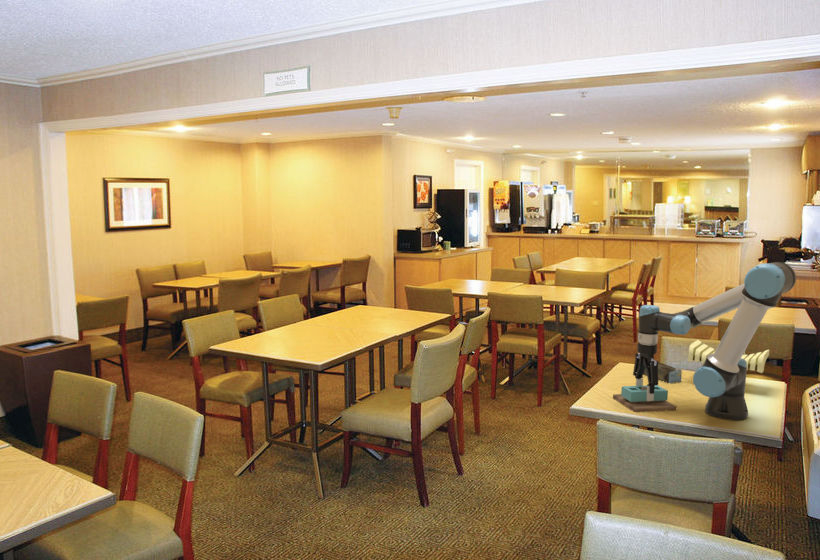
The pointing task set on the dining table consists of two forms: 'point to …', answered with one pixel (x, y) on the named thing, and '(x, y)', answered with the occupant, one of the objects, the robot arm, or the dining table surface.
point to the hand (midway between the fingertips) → (644, 397)
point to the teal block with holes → (643, 393)
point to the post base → (645, 404)
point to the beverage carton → (667, 373)
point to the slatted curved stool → (702, 351)
